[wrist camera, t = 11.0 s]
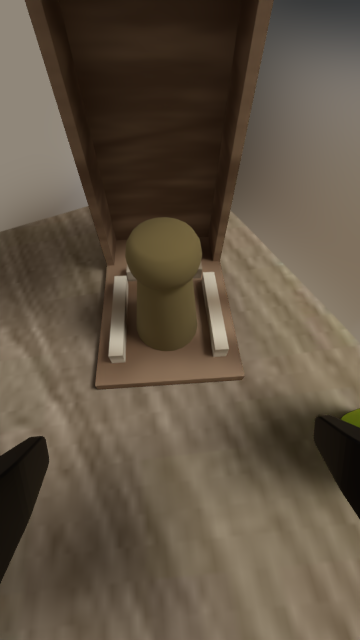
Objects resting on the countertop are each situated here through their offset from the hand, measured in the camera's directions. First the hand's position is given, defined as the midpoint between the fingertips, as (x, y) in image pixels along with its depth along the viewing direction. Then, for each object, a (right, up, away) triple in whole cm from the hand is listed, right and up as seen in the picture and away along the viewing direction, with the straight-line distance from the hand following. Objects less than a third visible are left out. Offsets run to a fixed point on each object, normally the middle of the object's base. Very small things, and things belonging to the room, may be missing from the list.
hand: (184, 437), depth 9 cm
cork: (-1, +3, +17) cm, 18 cm away
